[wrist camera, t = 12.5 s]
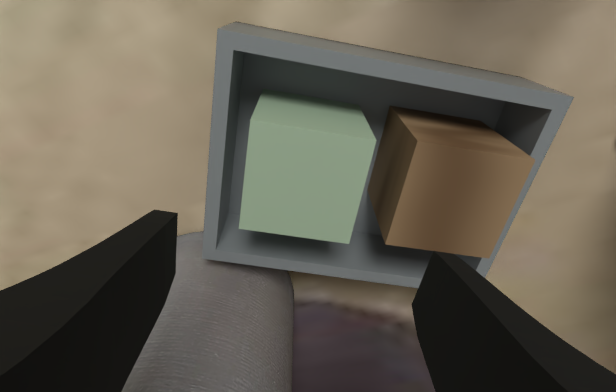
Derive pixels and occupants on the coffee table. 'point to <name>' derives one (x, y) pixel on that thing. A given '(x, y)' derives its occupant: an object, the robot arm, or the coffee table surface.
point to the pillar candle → (219, 329)
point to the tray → (374, 104)
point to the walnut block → (444, 182)
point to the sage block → (305, 166)
